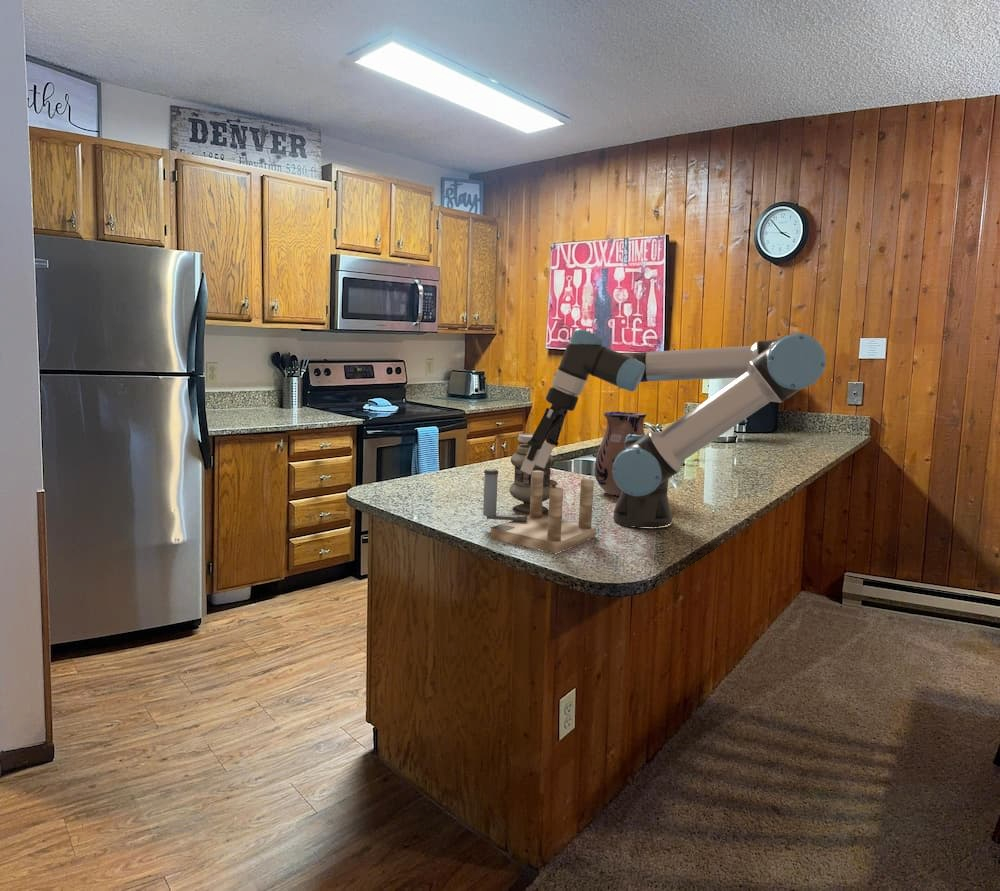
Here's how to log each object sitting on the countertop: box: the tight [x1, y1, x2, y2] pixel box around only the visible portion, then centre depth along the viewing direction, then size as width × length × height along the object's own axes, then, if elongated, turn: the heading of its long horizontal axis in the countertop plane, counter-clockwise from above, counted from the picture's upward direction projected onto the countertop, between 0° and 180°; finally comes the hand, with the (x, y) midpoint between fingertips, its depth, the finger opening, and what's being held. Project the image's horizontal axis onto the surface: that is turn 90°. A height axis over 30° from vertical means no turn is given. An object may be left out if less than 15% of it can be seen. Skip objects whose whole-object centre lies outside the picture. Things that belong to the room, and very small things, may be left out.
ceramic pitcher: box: [593, 410, 647, 497], centre depth 218 cm, size 18×21×25 cm
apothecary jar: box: [508, 444, 555, 516], centre depth 192 cm, size 12×12×18 cm
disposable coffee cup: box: [517, 433, 534, 445], centre depth 254 cm, size 10×10×12 cm
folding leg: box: [482, 468, 528, 521], centre depth 172 cm, size 11×3×12 cm, turn 84°
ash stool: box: [490, 470, 597, 554], centre depth 167 cm, size 18×18×14 cm
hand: (532, 469), depth 178 cm, fingers open, 13 cm apart
